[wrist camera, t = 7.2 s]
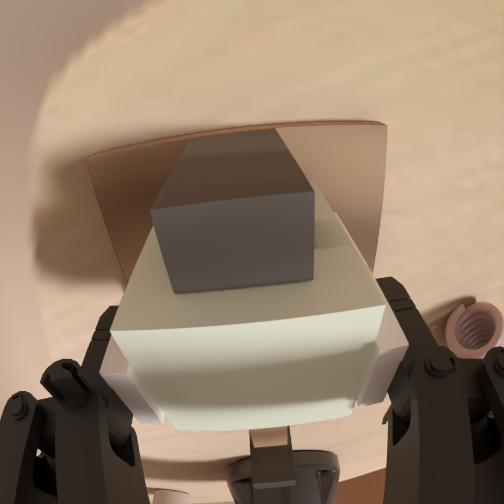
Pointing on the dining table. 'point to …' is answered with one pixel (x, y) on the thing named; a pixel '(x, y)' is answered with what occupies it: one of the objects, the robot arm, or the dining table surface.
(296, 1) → the dining table surface
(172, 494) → the coffee cup
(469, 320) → the coil
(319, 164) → the track
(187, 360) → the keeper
